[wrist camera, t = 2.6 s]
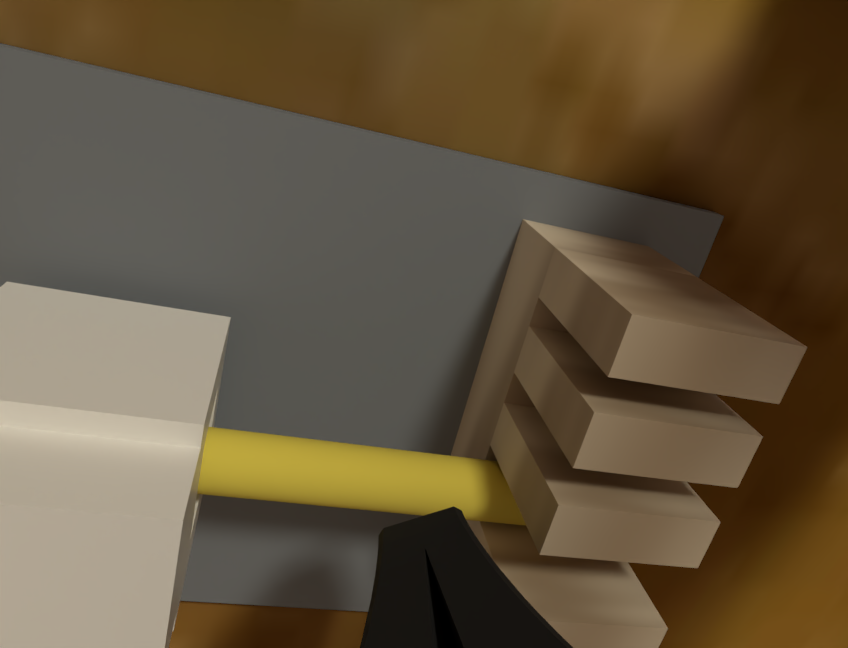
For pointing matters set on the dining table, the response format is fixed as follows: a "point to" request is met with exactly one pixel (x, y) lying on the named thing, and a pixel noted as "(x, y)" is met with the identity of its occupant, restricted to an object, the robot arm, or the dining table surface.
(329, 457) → the yellow rod
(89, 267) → the cable mat
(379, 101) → the dining table surface
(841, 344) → the dining table surface
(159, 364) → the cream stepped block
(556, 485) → the cable comb
